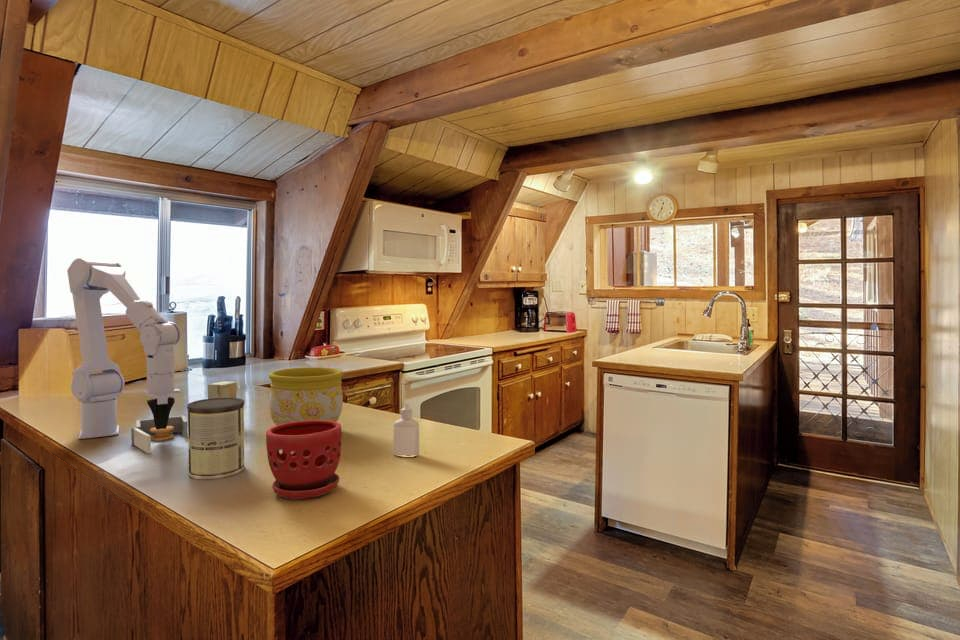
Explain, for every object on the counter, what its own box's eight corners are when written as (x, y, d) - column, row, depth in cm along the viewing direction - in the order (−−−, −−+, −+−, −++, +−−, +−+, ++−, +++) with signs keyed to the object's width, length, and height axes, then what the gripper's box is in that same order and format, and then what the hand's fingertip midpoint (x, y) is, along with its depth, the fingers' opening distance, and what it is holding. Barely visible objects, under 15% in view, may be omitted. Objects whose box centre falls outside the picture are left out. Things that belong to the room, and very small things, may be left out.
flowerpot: (283, 449, 120) (282, 379, 119) (259, 433, 133) (259, 370, 133) (354, 437, 131) (355, 373, 130) (326, 423, 145) (326, 365, 144)
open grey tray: (136, 436, 129) (136, 420, 129) (184, 430, 135) (184, 415, 135) (136, 443, 123) (136, 427, 123) (187, 437, 129) (187, 421, 128)
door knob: (149, 437, 129) (149, 427, 129) (173, 434, 132) (172, 424, 132) (150, 442, 125) (150, 431, 125) (174, 439, 128) (174, 429, 128)
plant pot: (348, 478, 101) (348, 417, 101) (331, 504, 88) (331, 435, 88) (281, 477, 101) (281, 417, 100) (254, 504, 88) (254, 435, 87)
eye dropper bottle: (407, 460, 113) (407, 406, 112) (390, 455, 116) (390, 402, 116) (421, 456, 116) (422, 403, 115) (405, 451, 120) (405, 399, 119)
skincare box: (221, 431, 135) (221, 385, 134) (206, 430, 136) (206, 384, 135) (237, 425, 141) (237, 381, 141) (223, 424, 142) (223, 380, 141)
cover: (136, 443, 123) (136, 427, 122) (152, 453, 116) (151, 435, 115) (130, 444, 122) (130, 428, 122) (146, 454, 115) (145, 436, 115)
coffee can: (179, 471, 104) (178, 402, 103) (230, 459, 112) (230, 395, 111) (201, 484, 97) (200, 410, 97) (254, 470, 105) (253, 401, 105)
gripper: (182, 375, 120) (182, 433, 121) (177, 368, 132) (177, 420, 133) (146, 378, 116) (147, 437, 117) (144, 369, 128) (145, 423, 129)
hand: (161, 428), depth 125 cm, fingers closed
